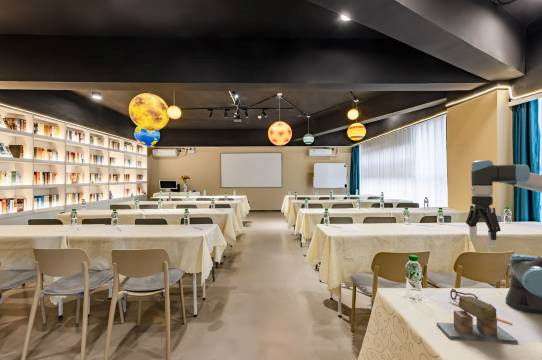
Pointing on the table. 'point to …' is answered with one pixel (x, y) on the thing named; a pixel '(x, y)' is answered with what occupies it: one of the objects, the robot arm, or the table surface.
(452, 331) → the bridge base
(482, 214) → the robot arm
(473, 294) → the glasses
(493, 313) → the stone block
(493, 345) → the table surface
